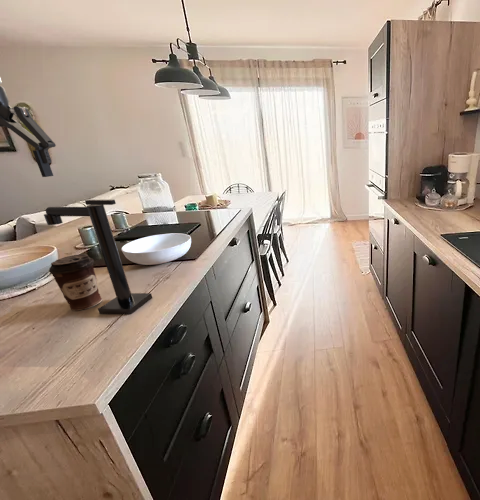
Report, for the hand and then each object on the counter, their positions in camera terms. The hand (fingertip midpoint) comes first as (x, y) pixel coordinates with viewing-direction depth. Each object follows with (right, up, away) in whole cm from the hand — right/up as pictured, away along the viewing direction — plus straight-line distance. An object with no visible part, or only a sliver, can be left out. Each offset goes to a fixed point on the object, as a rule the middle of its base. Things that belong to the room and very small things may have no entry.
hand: (16, 177), depth 74 cm
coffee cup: (+17, -33, +2) cm, 37 cm away
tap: (+24, -33, +1) cm, 41 cm away
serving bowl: (+18, -22, +30) cm, 42 cm away
